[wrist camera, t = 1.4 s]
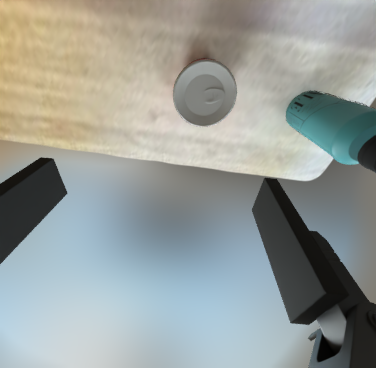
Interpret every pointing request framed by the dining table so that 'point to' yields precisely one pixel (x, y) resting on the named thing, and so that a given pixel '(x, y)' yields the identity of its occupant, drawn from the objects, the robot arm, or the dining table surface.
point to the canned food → (204, 92)
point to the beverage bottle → (336, 126)
